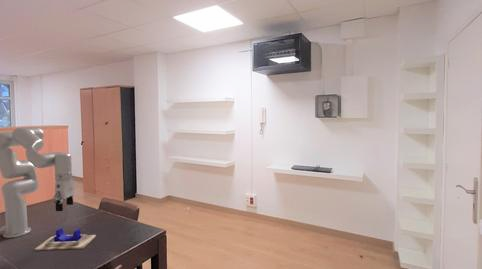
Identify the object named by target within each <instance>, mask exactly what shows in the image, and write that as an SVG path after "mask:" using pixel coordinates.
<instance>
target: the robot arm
mask: <svg viewBox="0 0 482 269" xmlns="http://www.w3.org/2000/svg"><path fill="white" fill-rule="evenodd" d="M44 137H45V133H44V131H43V129H41V128H40V127H36V126H32V127H30V126H29V127H24V126H23V127H18V128H15V129H14V130H13V131H3V132H0V174H1V177H2V178H3V179H7V180H9V179H14V180H10V181H6V182H5V183H3V185H2V186H1V189H0V190H1V194H2V197H3V202H4V213H5V214H4V215H5V216H4V217H5V225H4V226H1V227H0V232H4V233H3V234H2V237H3V238H5V239H6V238H7V239H11V238H17V237H21V236H25V235H27V234H28V233H30V232H31V231H32V228H31V227H30V226H28V212H27V201H26V200H25V198H23V197H22V196H24V195H27V194H31V193H35V192H36V191H38V189H39V188H40V187H39V186H40V184H39V179H38V175H37V171H36V168H38V169H44V168H51V167H54V180H55V181H54V182H55V183H54V195H53V197H52V199H53V202H54V204H55V212H63V211H64V208H63V207H64V206H63V205H64V204H63V200H66V205H67V206H72V205H74V195H75V186H74V180H73V169H72V168H73V167H72V163H73V162H72V154H71V153H66V152H61V151H54V152H53V151H51V152H44V153H40V152H39V151H41V150H42V149H43V147H44V144H45V142H44V141H43V139H44ZM18 146H22V147H23V148H24V149H25V157H26V159H25V160H18V156H17V153H16V152H15V151H14V150H13V149H12V148H10V147H18ZM20 177H23V178H20ZM17 178H19V179H17Z"/></svg>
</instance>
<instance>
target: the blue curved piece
mask: <svg viewBox="0 0 482 269" xmlns="http://www.w3.org/2000/svg"><path fill="white" fill-rule="evenodd" d="M67 235H68V234H66V233H65V232H64V229H63V228H62V227H61V228H58V229H57V230H55V235H54V236H55V237H54V242H67V241H78V240H79V239H81V235H82V232H81V229H80V228H77V229H76V230H74V231H73V234H72V235H73V236H72V237H69V236H67Z"/></svg>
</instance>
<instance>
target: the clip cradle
mask: <svg viewBox="0 0 482 269" xmlns="http://www.w3.org/2000/svg"><path fill="white" fill-rule="evenodd" d="M66 235H67V236H69V237H72V236H73V234H66ZM55 236H56V235H54V236H51V237H49V238H47V239H46V240H45V241H43V242H42V243H41V244H39V245H38V246H36V247H35V248H34V251H50V250H51V251H52V250H53V251H54V250H74V249H84V248H85V247H86V246H87V245H88V244H89V243H91V241H92V240H93V239H95V238H96V237H97V235H96V234H85V233H83V234H81V239H79V240H78V241H67V242H54V237H55Z"/></svg>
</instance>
